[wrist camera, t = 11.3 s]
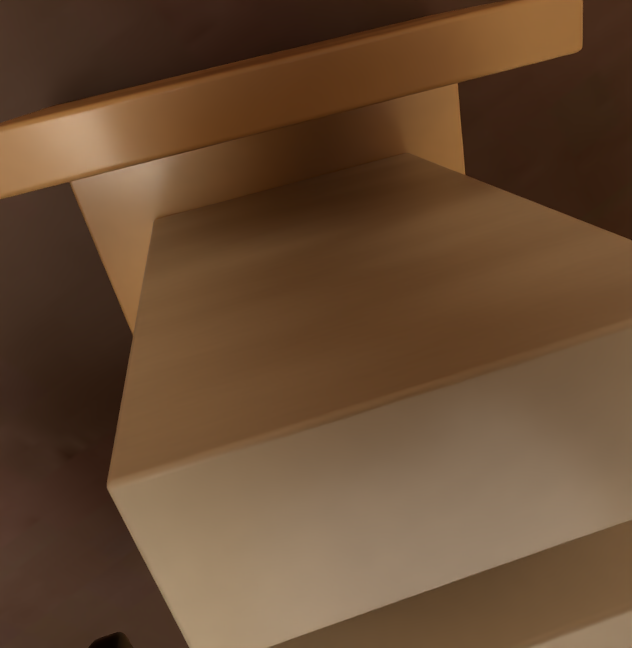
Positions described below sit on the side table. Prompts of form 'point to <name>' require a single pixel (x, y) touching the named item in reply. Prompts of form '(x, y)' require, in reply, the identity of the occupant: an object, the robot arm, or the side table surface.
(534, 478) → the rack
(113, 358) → the side table surface
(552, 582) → the tan flat block
